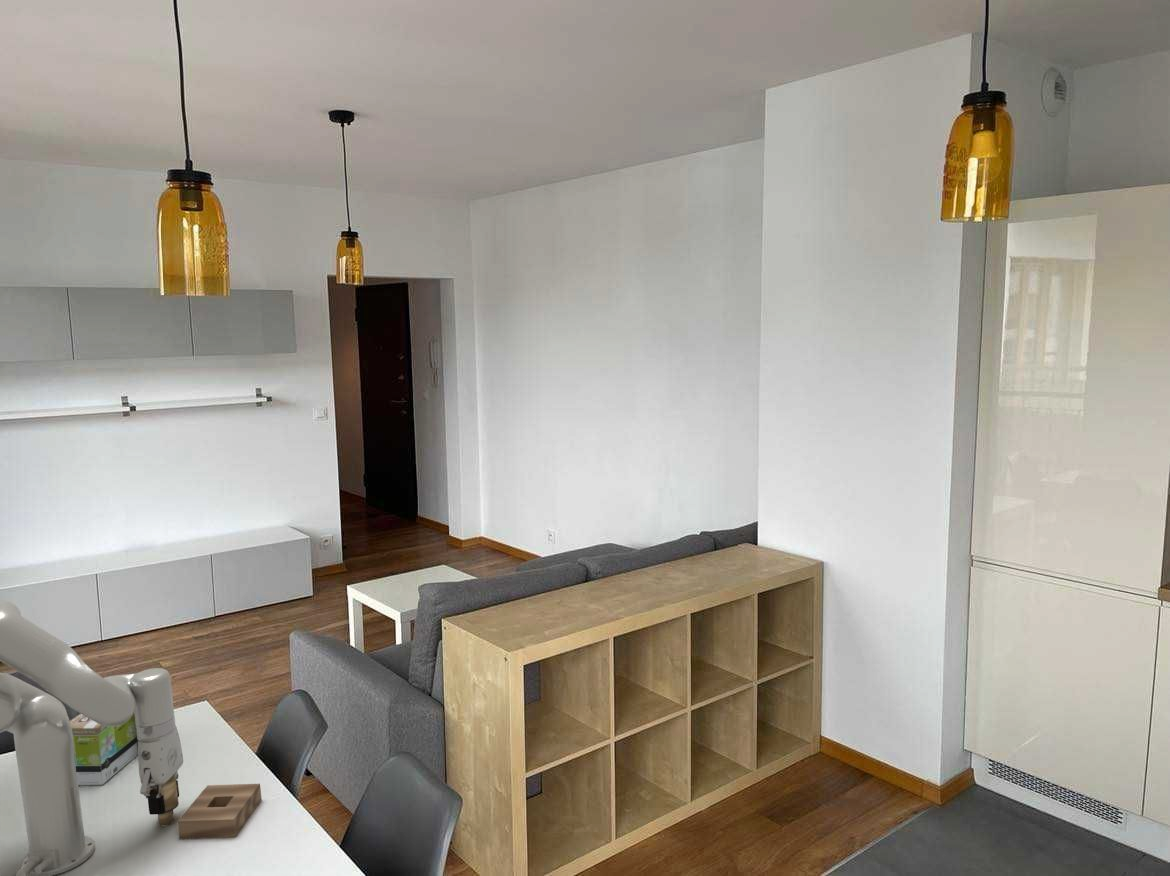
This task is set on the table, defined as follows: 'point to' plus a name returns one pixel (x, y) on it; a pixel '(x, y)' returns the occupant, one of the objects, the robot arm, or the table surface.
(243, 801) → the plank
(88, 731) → the tea box
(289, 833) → the table surface
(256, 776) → the table surface
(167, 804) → the peg
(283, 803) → the table surface
